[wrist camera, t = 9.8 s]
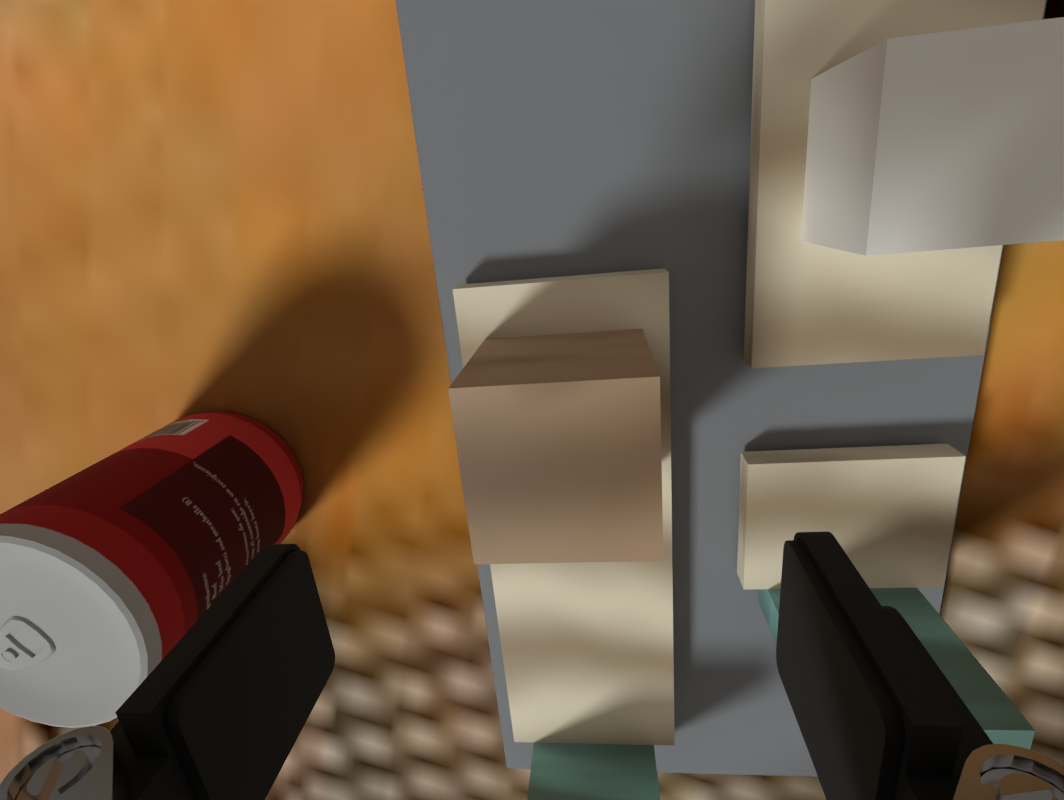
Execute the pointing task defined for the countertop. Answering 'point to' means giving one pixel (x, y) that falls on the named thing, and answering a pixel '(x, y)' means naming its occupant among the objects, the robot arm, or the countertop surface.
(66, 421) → the countertop surface
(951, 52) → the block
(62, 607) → the canned food
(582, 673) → the strip
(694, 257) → the mat
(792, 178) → the broken strip
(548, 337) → the cube
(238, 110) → the countertop surface
